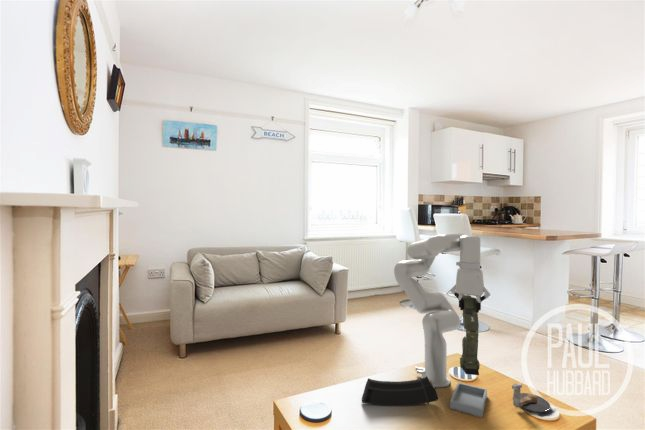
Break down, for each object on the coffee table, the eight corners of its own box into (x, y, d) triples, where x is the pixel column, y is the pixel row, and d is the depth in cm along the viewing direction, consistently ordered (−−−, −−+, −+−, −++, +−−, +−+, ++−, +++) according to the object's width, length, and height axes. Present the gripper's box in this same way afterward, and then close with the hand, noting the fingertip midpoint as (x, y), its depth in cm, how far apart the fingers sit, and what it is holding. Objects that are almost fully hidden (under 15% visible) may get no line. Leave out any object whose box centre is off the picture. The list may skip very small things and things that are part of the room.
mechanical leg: (484, 378, 131) (481, 296, 137) (464, 376, 133) (462, 295, 139) (476, 369, 145) (473, 295, 150) (458, 368, 146) (456, 294, 152)
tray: (450, 408, 138) (450, 400, 138) (457, 389, 152) (457, 382, 152) (482, 417, 132) (482, 409, 132) (487, 396, 146) (487, 389, 146)
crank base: (514, 408, 138) (514, 404, 138) (515, 393, 148) (515, 390, 148) (550, 417, 132) (550, 413, 132) (549, 401, 142) (549, 397, 142)
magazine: (356, 384, 140) (427, 363, 139) (355, 380, 143) (425, 359, 143) (368, 424, 140) (440, 403, 140) (367, 419, 144) (437, 398, 143)
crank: (530, 396, 142) (531, 376, 142) (539, 401, 139) (539, 381, 139) (509, 404, 137) (509, 383, 137) (517, 409, 134) (517, 388, 134)
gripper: (445, 265, 141) (445, 309, 142) (492, 269, 133) (492, 316, 133) (449, 262, 148) (449, 305, 148) (494, 266, 139) (494, 311, 140)
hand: (469, 310), depth 141 cm, fingers closed on mechanical leg, 5 cm apart
